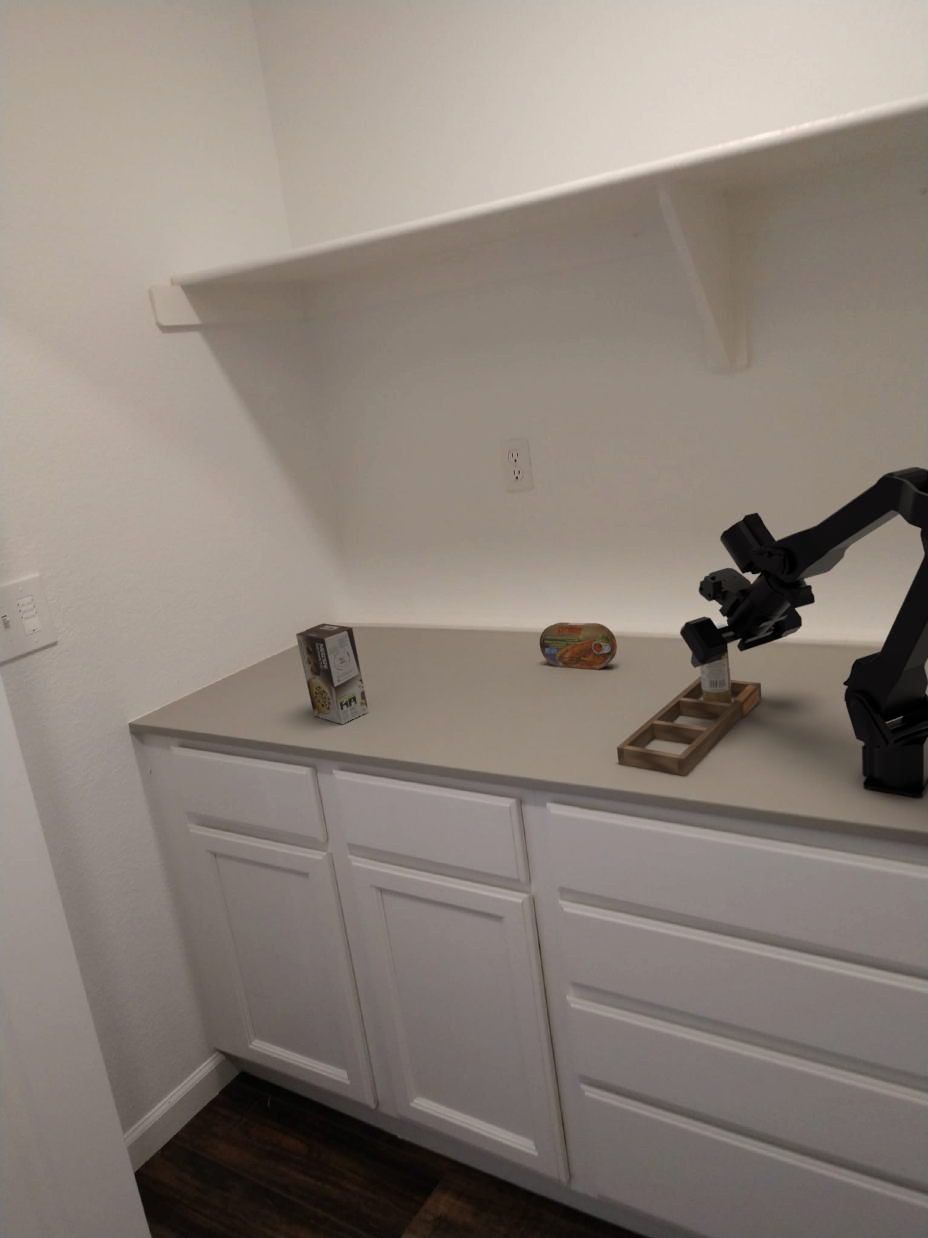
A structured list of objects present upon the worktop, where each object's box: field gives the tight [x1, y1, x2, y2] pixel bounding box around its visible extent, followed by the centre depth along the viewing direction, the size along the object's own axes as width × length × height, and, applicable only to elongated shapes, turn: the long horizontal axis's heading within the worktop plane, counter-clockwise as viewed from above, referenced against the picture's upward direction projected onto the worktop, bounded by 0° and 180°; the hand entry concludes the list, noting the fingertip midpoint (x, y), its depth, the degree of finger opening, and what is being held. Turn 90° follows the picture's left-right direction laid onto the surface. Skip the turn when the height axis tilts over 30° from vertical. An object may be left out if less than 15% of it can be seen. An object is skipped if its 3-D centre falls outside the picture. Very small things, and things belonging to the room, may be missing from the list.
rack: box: [616, 676, 762, 777], centre depth 126 cm, size 10×28×3 cm, turn 141°
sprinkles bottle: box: [699, 621, 734, 704], centre depth 131 cm, size 5×5×13 cm
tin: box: [539, 622, 618, 670], centre depth 158 cm, size 15×3×8 cm, turn 56°
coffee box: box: [295, 623, 369, 725], centre depth 152 cm, size 9×6×16 cm
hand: (716, 656), depth 130 cm, fingers open, 9 cm apart
